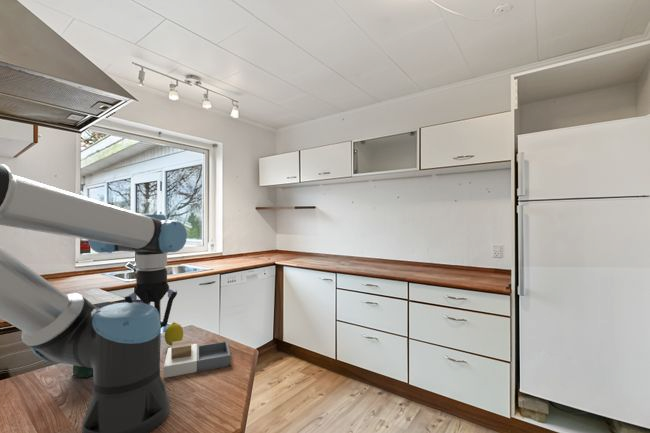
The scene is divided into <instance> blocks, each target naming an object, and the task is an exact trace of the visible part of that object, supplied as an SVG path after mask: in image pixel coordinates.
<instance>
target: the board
mask: <svg viewBox="0 0 650 433" xmlns="http://www.w3.org/2000/svg"><path fill="white" fill-rule="evenodd" d="M197 346H198V343H191V356H188V357H182V358H176V359H171V348H172V346H171V347H168V348H167V352H166V355H165V356H166V357H165V360H164V364H163V378H164V379H165V378H172V377H177V376H181V375H186V374H187V375H188V374H192V373H198V372H197Z"/></svg>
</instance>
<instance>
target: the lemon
mask: <svg viewBox="0 0 650 433" xmlns="http://www.w3.org/2000/svg"><path fill="white" fill-rule="evenodd" d="M183 336H184V330H183V327H182V325H181V324H179V323H176V322H175V321H174V322H172V323H171V324H169V325H168V326H167V327H166V328H165V331H164V340H165V343H166V345H168V346H172V343H173V342H176V341H182V340H183Z"/></svg>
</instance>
